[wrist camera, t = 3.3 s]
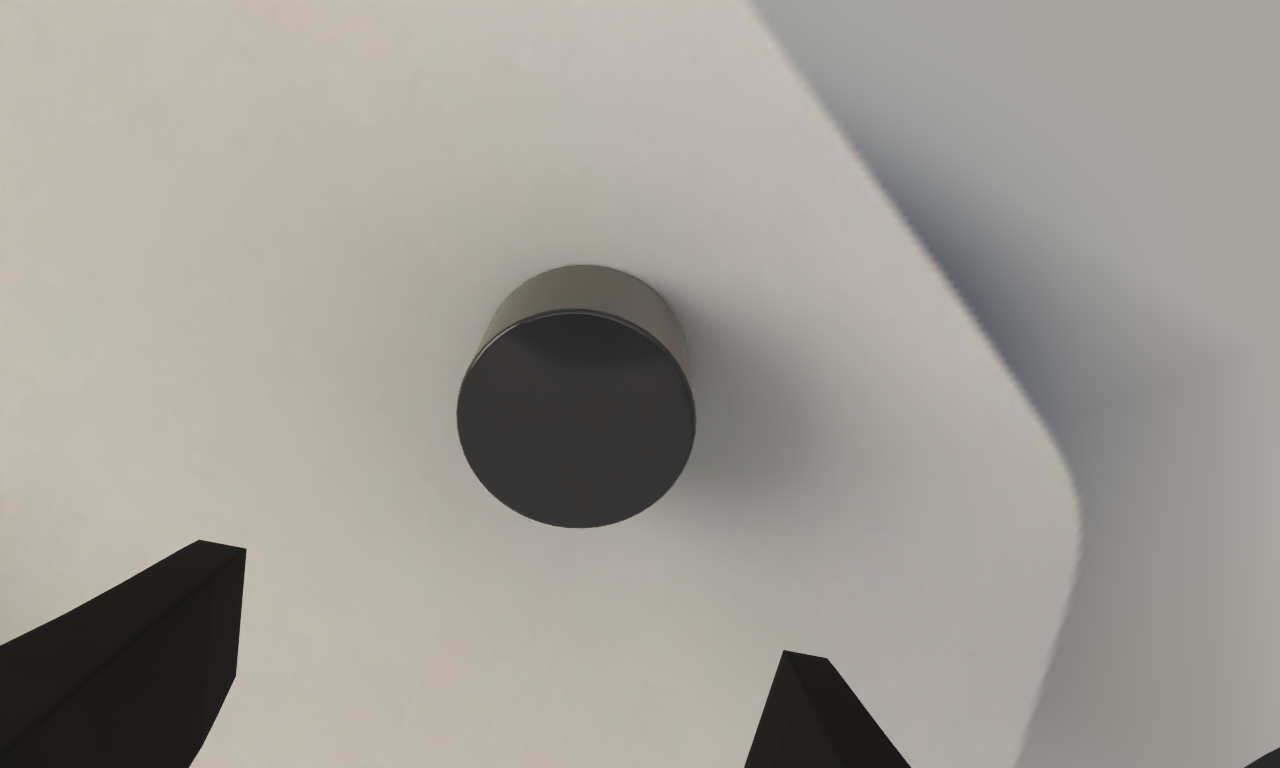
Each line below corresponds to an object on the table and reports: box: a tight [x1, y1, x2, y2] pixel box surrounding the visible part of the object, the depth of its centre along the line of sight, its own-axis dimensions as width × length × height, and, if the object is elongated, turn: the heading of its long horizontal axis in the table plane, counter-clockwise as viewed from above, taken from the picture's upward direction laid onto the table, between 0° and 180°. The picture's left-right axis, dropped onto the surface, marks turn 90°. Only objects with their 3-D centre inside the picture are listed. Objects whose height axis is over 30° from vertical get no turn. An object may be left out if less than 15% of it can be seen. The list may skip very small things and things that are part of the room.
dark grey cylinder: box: [456, 265, 696, 528], centre depth 19 cm, size 4×4×3 cm
